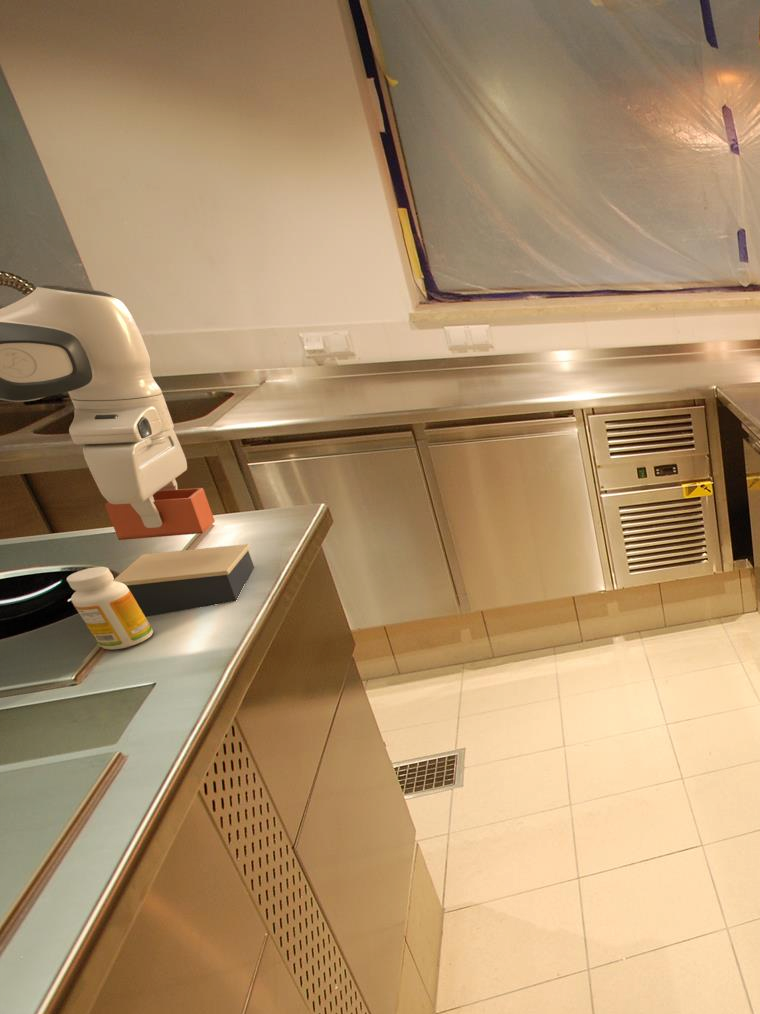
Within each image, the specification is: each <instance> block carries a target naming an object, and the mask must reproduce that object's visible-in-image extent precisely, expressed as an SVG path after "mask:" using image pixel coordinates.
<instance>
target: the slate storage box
mask: <svg viewBox="0 0 760 1014" xmlns="http://www.w3.org/2000/svg"><path fill="white" fill-rule="evenodd" d="M250 549H251V545H250V544H249V543H245V544H244V543H243V544H235V545H234V544H233V545H224V546H214V547H204V548H195V549H183V550H173V551H162V552H153V553H151V552H150V553H142V554H141V555H140V556H139V557H138V558H136V559H135V560H134V561H133V562H132V563H131V564H130V565H128V567H126V568H125V569H124V570H123V571H122V572H120V574H119V575H117V576H116V577H115V578H114V580H113V581H116V582H121V583H123V584H125V585H126V586H127V587H128V589H129V590H130V592H131V594H132V595H133V597H134V598H135V600H136V602H137V604H138V605H139V607H140V609H141V610H142V612H143V614H144V616H145V617H146V618H149V617H155V616H159V615H160V616H161V615H166V614H172V613H176V612H177V613H178V612H183V611H189V610H194V609H199V608H200V607H201V608H206V607H211V605H212V606H216V605H215V604H218V605H223V604H229V603H232V602H231V601H235V602H237V601H238V599H239V597H240V596H239V594H240V592H241V590H242V588H243V586H244V584H245V583H246V584H247V582H248V581H249V578H250V576H251V575H250V574H252V573H253V570H254V569H255V565H254V562H253V560H252V557H251V554H250ZM246 581H247V582H246ZM246 584H245V585H246ZM244 587H245V586H244ZM243 589H244V588H243ZM242 591H243V590H242ZM241 593H242V592H241ZM240 595H241V594H240ZM238 596H239V597H238ZM237 598H238V599H237ZM236 600H237V601H236ZM228 602H229V603H228ZM201 608H200V609H201Z"/></svg>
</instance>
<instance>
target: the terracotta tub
mask: <svg viewBox="0 0 760 1014" xmlns="http://www.w3.org/2000/svg"><path fill="white" fill-rule="evenodd" d="M177 489H178V488H177ZM153 498H154V500H155V501H154V502H153V503H154V505H155V506H156V508H157V510H158V512H161V514H162V517H163V519H164V524H163V525H161V526H160V527H156V528H147V527H145V526H144V524H143V521H142V519H141V516H140V515H139V514H138V513H137V512H136V511H135V509H134V508H133V507H132V506H131V504H130V503H129V504H111V503H110V502H108V501H107V502H105V503H104V507H105V509H106V512H107V514H108V517H109V520H110V522H111V524H112V527H113V529H114V531H115V534H116V537H117V540H118V541H125V540H138V539H149V538H162V537H173V536H185V535H198V534H204V533H205V532H206V531H207V530H208V529H209V528H210V527H211V526H212V525H213V524H214V523H215V518H214V515H213V512H212V510H211V507H210V504H209V501H208V497H207V495H206V492H205V489H204V487H196V488H195V487H193V488H179V489H178V490H162V491H157V492H156V493H155V494H153Z"/></svg>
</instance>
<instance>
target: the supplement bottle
mask: <svg viewBox="0 0 760 1014" xmlns="http://www.w3.org/2000/svg"><path fill="white" fill-rule="evenodd" d="M114 579H115V578H114V575H113V573H112V572H111V570H110V569H109V568H108V567H106V566H94V567H90V568H89V567H88V568H84V569H81V570H78V571H75V572H73V573H71V574H70V575H68V576H67V577H66V582H67V583H68V585H69V587H70V588H71V589H72V590H73V591H74V592H73V594H72V595H71V597H70V601H71V603H72V605H73V607H74V608H75V609H76V611H77V612H78V614H79V616H80V618H81V619H82V621H83V623H85V625H86V626H87V628H88V629H89V631H90V633H91V635H92V636H93V637H94V639H95V640H96V642H97V644H98V645H99V647H100V648H102V649H104V650H105V649H106V650H121V649H125V648H130V647H133V646H135V645H138V644H140V643H142V642H144V641H146V640H148V639H149V638H151V636H152V635H153V633H154V630H153V628H152V625H151V623H150V622H149V620H148V619H147V617H145V616H144V614H143V612H142V610H141V609H140V607H139V605H138V604H137V602H136V600H135V598H134V597H133V595H132V594H131V592H130V590H129V589H128V587H127V586H126V585H125V584H123V583H121V582H116V581H113V580H114Z"/></svg>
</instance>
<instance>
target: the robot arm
mask: <svg viewBox="0 0 760 1014" xmlns="http://www.w3.org/2000/svg"><path fill="white" fill-rule="evenodd" d="M65 393H68V395H69V398H70V400H71V402H72V405H73V408H74V410H73V413H74V414H73V415H74V417H73V419H72V422H71V424H70V426H69V429H68V432H69V436H70V438H71V440H72V442H73V444H75V445H77V446H78V445H79V446H80V445H81V446H83V447H82V453H83V458H84V460H85V462H86V465H87V468H88V470H89V471H90V474H91V476H92V478H93V480H94V482H95V484H96V486H97V488H98V491H99V492H100V494H101V495H102V497H103V498H104V499H105V500H106V501H107V502H110V503H111V504H129V503H130V504H131V506H132V507H133V508H134V509H135V511H136V512H137V513H138V514H139V515H140V516H141V519H142V521H143V524H144V526H145V527H147V528H156V527H160V526H161V525H163V524H164V519H163V517H162V514H161V512H158V510H157V508H156V506H155V505H154V503H153V502H154V501H155V500H154V498H153V494H155V493H156V492H157V491H162V490H178V482H177V480H176V479H177V478H178V477H179V476H181V475H182V474H183V473H185V472H186V471H187V470H188V462H187V458H186V455H185V452H184V450H183V448H182V445H181V443H180V441H179V439H178V436H177V434H176V432H175V430H174V428H175V425H174V422H173V420H172V415H171V414H170V411H169V408H168V405H167V403H166V399H165V396H164V394H163V391H162V389H161V387H160V386H159V385H158V383H157V381H155V379H154V376H153V374H152V370H151V357H150V354H149V352H148V349H147V346H146V343H145V341H144V338H143V336H142V334H141V332H140V329H139V326H138V325H137V323H136V321H135V319H134V317H133V315H132V313H131V312H130V310H129V308H128V307H127V306H126V305H125V304H124V302H123V301H122V300H120V299H119V298H117V297H115V296H114V295H112V294H110V293H107V292H104V291H101V290H93V289H88V288H81V287H74V286H66V285H56V284H43V285H39V286H36V288H35V289H34V290H33V291H32V292H30V293H28V294H27V295H26V296H24V297H23V298H21V299H19V300H17V301H15V302H13V303H11V304H8V305H6V306H4V307H2V308H0V400H1V401H7V402H8V401H9V402H19V403H21V402H31V401H37V400H40V399H44V398H47V397H53V396H57V395H60V394H65Z"/></svg>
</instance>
